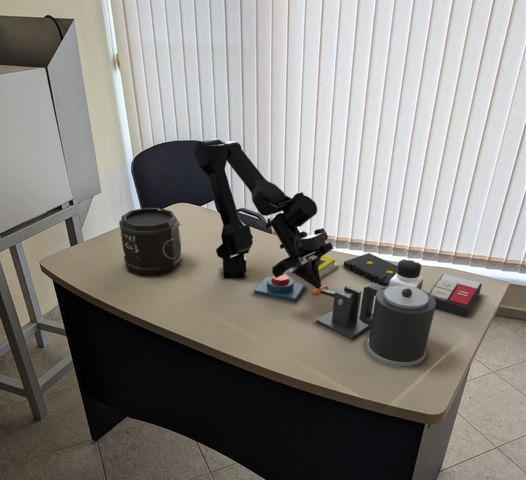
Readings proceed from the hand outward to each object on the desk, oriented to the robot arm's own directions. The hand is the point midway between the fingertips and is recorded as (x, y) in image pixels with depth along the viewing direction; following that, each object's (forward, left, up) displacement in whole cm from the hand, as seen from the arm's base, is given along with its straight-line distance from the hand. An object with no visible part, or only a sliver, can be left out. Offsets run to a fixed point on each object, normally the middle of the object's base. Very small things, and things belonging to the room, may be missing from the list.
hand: (319, 287), depth 127 cm
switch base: (+5, -7, -8) cm, 12 cm away
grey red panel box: (+40, +3, -8) cm, 40 cm away
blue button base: (-8, +12, -8) cm, 17 cm away
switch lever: (+3, -4, -1) cm, 5 cm away
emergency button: (+5, +25, -8) cm, 27 cm away
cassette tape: (+24, +21, -8) cm, 33 cm away
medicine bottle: (+25, +3, -8) cm, 26 cm away
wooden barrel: (-44, +34, -8) cm, 56 cm away
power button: (-8, +13, -4) cm, 15 cm away
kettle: (+14, -17, -8) cm, 23 cm away
